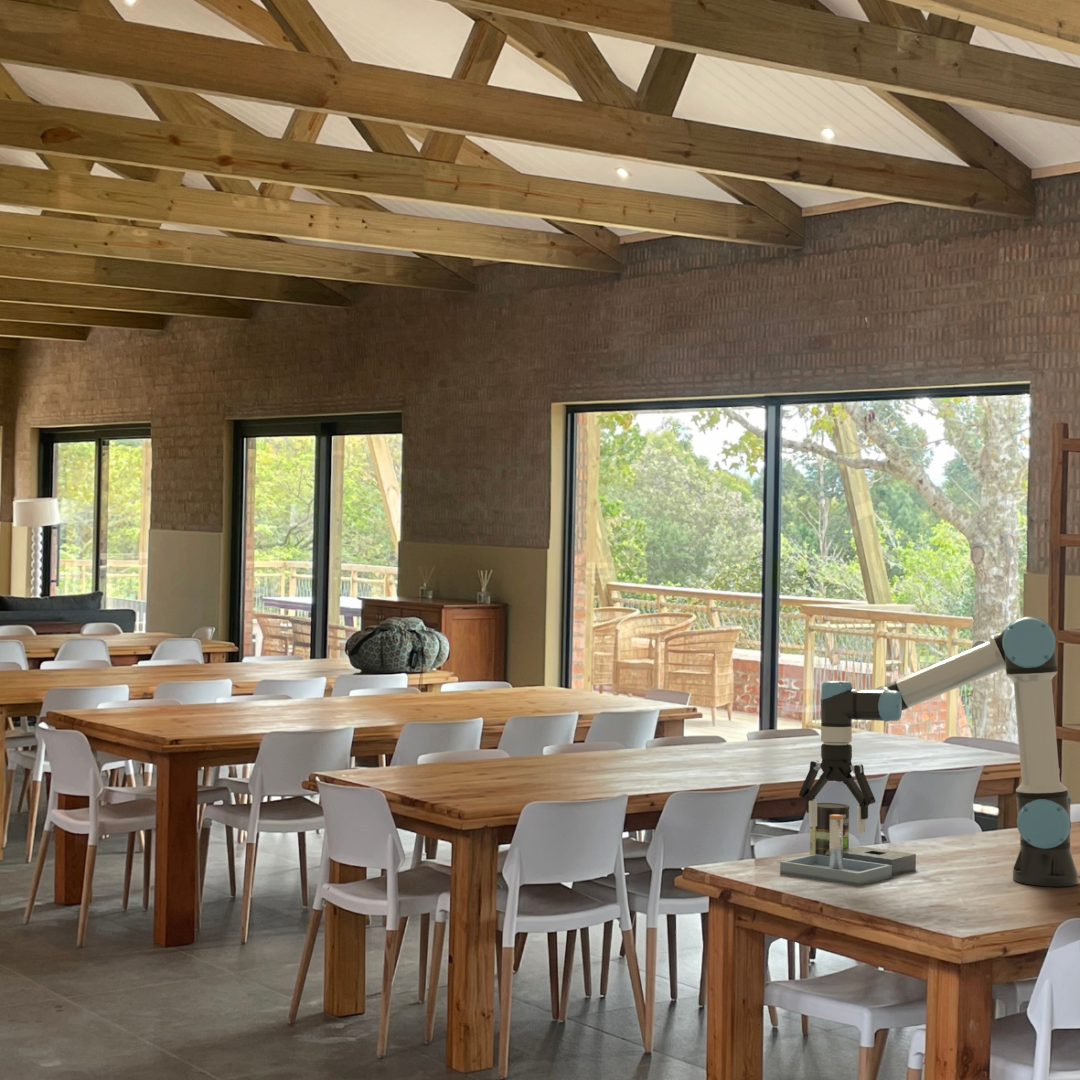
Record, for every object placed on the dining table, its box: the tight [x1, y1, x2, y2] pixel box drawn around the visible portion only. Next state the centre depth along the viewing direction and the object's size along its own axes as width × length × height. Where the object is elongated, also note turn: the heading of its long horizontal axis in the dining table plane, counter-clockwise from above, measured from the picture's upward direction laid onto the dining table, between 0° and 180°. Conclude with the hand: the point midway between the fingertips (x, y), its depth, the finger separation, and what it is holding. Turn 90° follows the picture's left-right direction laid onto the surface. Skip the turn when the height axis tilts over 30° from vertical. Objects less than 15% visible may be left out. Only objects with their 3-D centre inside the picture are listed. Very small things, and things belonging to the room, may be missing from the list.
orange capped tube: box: [829, 814, 843, 870], centre depth 368 cm, size 3×3×14 cm
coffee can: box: [809, 802, 850, 856], centre depth 392 cm, size 10×10×14 cm
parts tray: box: [779, 854, 893, 887], centre depth 368 cm, size 22×16×3 cm
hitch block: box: [843, 845, 917, 877], centre depth 378 cm, size 16×12×4 cm
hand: (836, 829), depth 368 cm, fingers open, 13 cm apart
